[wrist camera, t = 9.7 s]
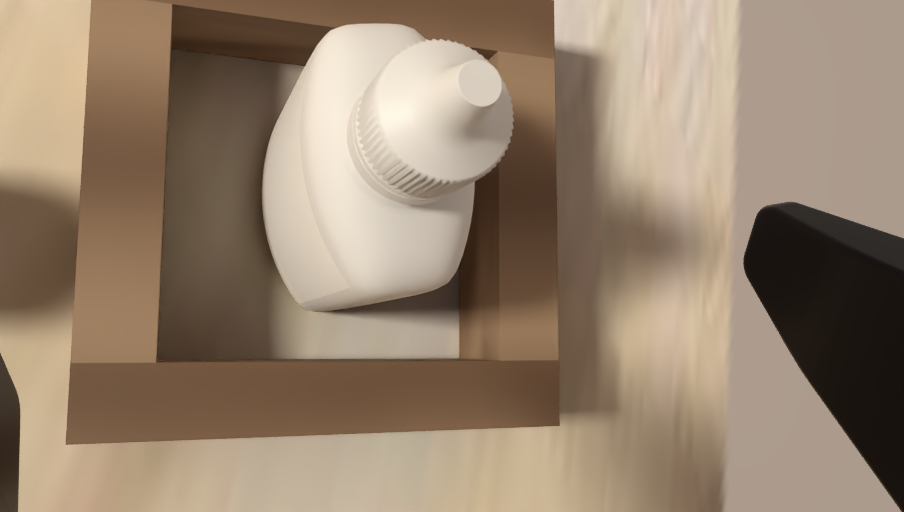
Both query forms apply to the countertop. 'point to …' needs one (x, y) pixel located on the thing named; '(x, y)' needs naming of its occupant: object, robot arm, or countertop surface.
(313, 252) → the eye dropper bottle
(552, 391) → the socket block
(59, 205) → the countertop surface
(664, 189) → the countertop surface
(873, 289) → the robot arm
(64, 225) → the countertop surface
